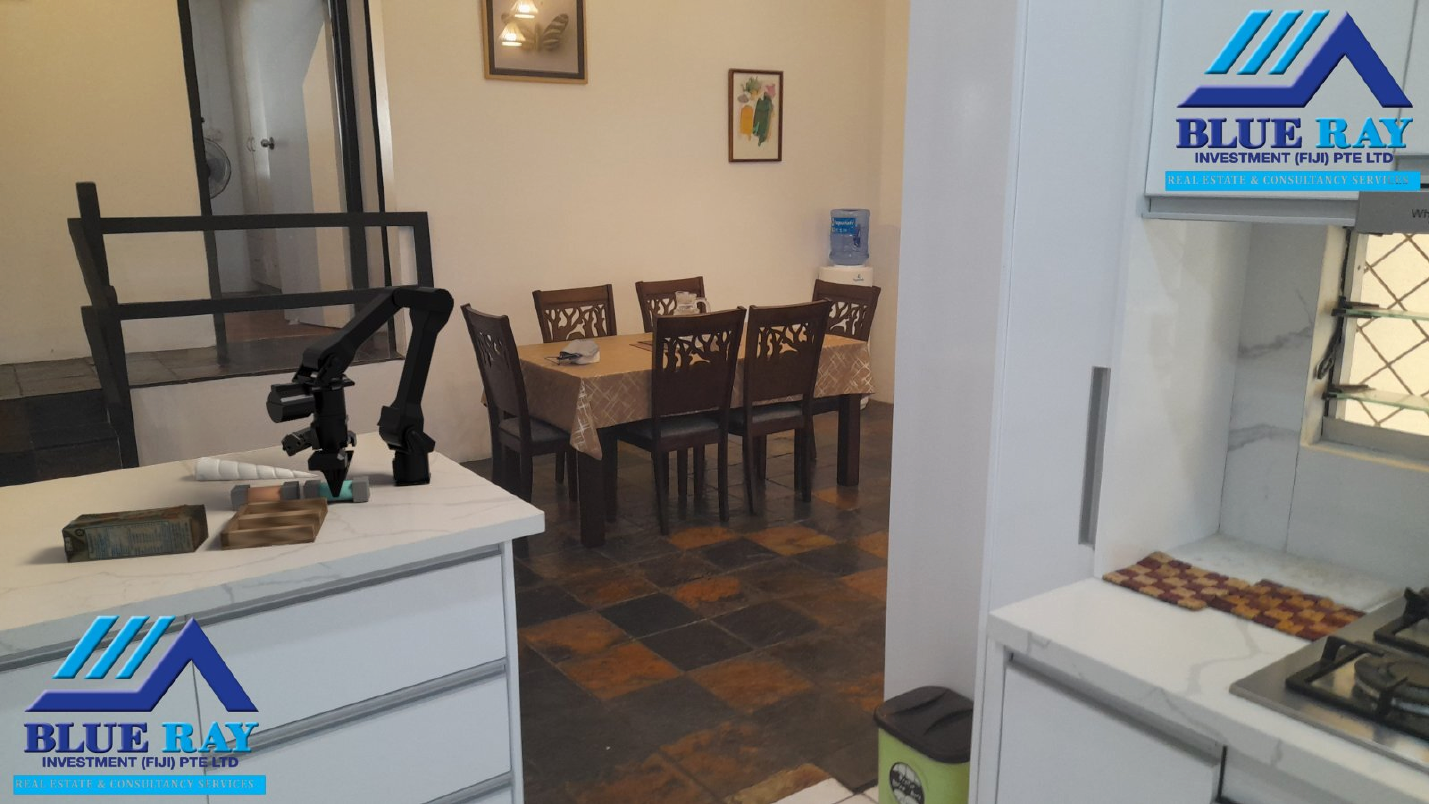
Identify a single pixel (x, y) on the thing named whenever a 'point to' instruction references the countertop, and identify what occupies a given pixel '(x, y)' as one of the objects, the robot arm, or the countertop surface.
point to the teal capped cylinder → (350, 489)
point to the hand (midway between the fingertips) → (337, 494)
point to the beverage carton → (135, 533)
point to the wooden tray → (274, 523)
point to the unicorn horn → (241, 471)
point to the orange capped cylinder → (264, 493)
